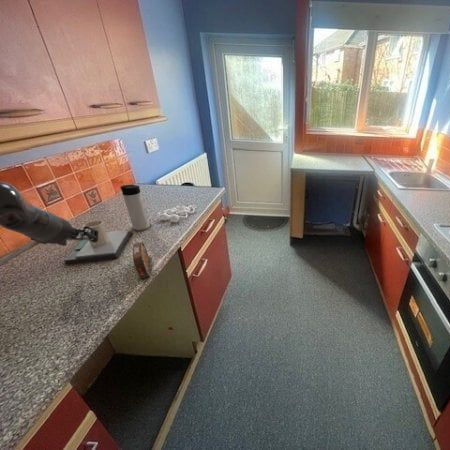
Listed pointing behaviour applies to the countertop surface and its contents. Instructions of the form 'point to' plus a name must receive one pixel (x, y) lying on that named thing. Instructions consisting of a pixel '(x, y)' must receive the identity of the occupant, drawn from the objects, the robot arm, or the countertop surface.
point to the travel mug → (135, 207)
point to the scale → (99, 249)
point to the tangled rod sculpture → (174, 217)
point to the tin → (141, 259)
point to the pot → (102, 234)
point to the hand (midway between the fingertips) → (80, 241)
